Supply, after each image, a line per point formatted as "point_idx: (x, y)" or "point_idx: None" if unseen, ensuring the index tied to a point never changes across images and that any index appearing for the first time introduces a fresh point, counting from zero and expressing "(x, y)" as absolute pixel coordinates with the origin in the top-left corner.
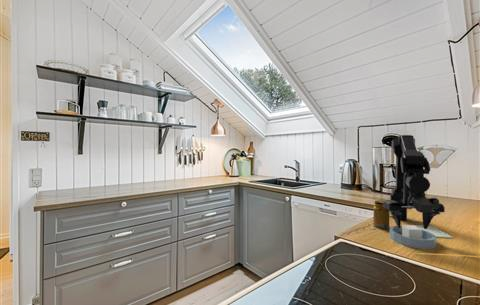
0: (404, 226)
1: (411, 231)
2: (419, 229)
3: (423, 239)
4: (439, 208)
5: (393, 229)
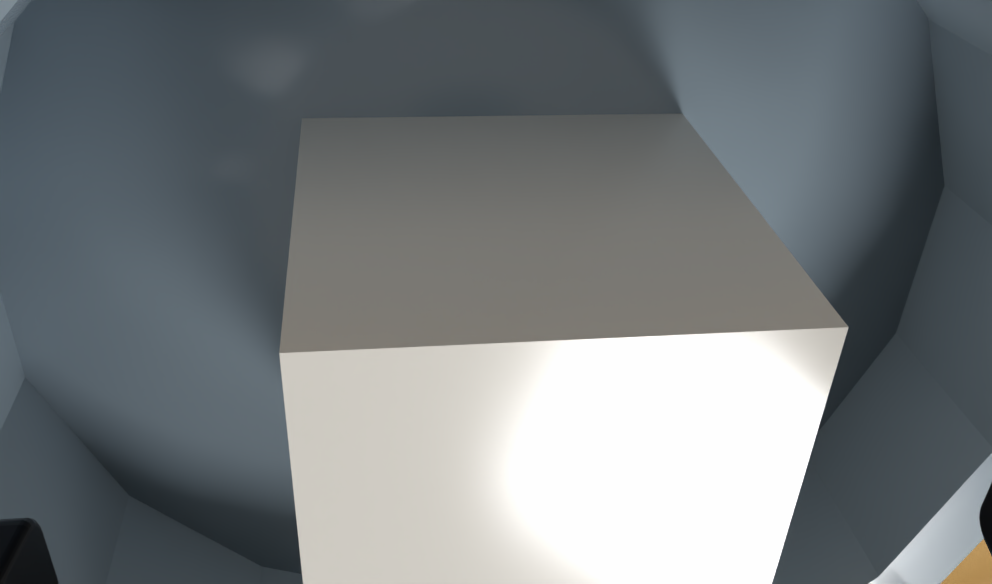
0: (766, 580)
1: (720, 279)
2: (386, 380)
3: None
4: None
5: (807, 581)
